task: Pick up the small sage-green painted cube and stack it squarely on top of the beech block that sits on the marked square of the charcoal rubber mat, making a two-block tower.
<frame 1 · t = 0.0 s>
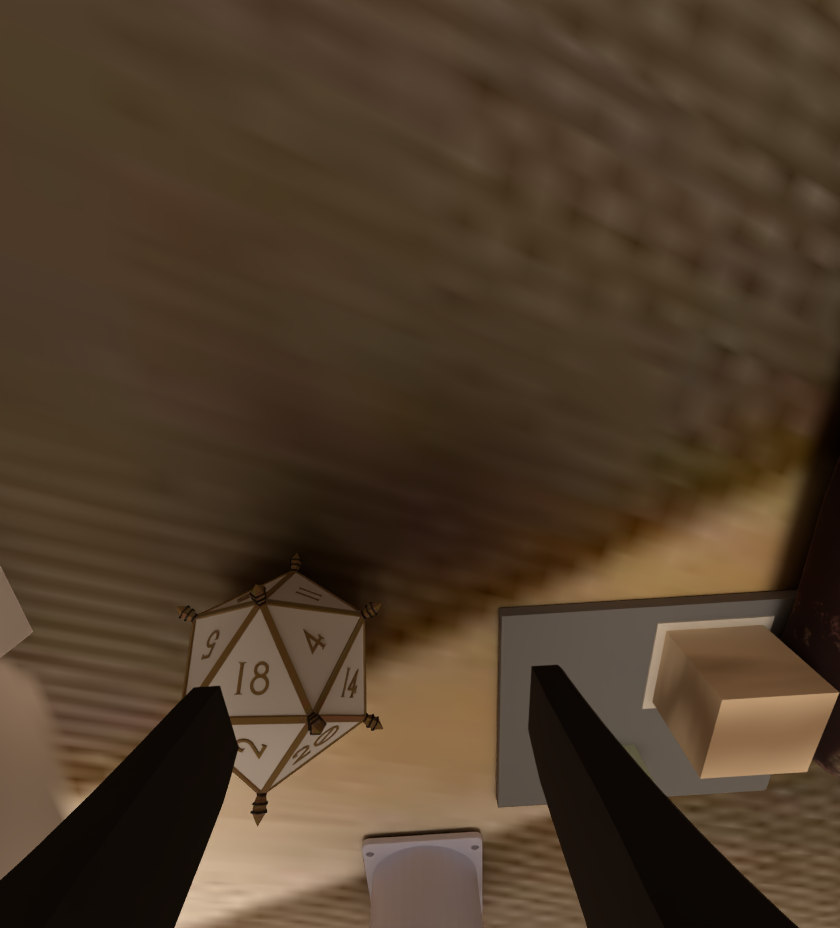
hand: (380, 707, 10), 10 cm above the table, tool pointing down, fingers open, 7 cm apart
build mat: (643, 703, 24), on the table
game die: (304, 601, 21), on the table
beech block: (705, 664, 22), point 1 cm above the table, touching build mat
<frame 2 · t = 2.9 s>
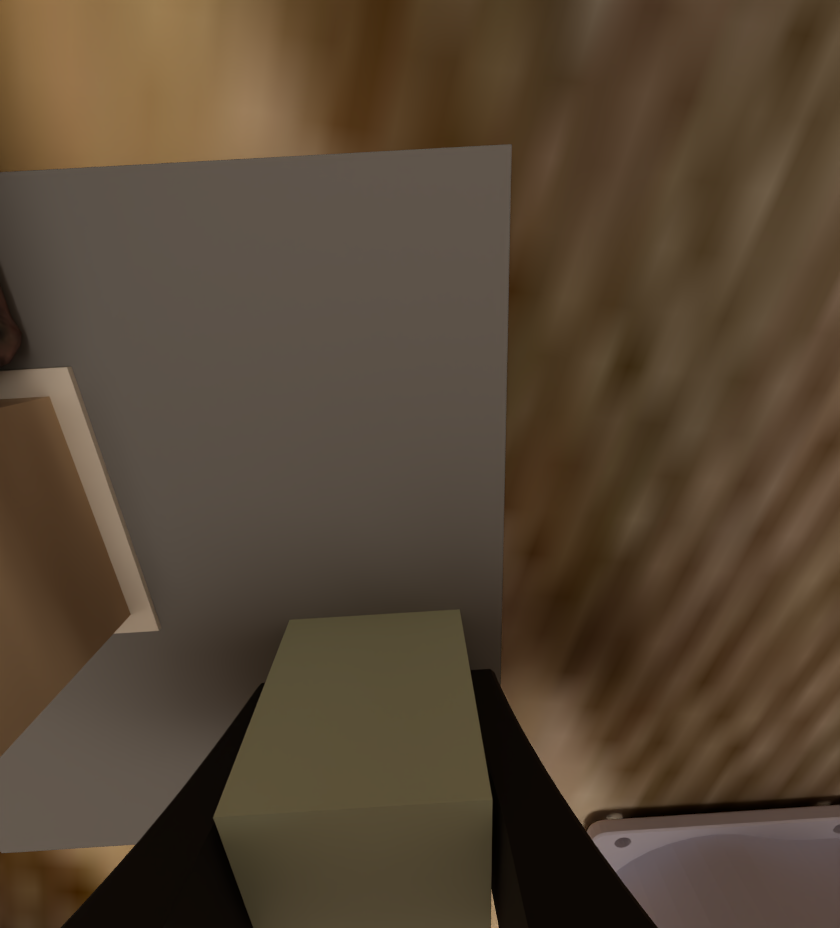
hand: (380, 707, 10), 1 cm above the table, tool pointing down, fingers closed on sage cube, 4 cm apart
sage cube: (382, 678, 10), point 1 cm above the table, touching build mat, gripper
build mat: (190, 592, 10), on the table
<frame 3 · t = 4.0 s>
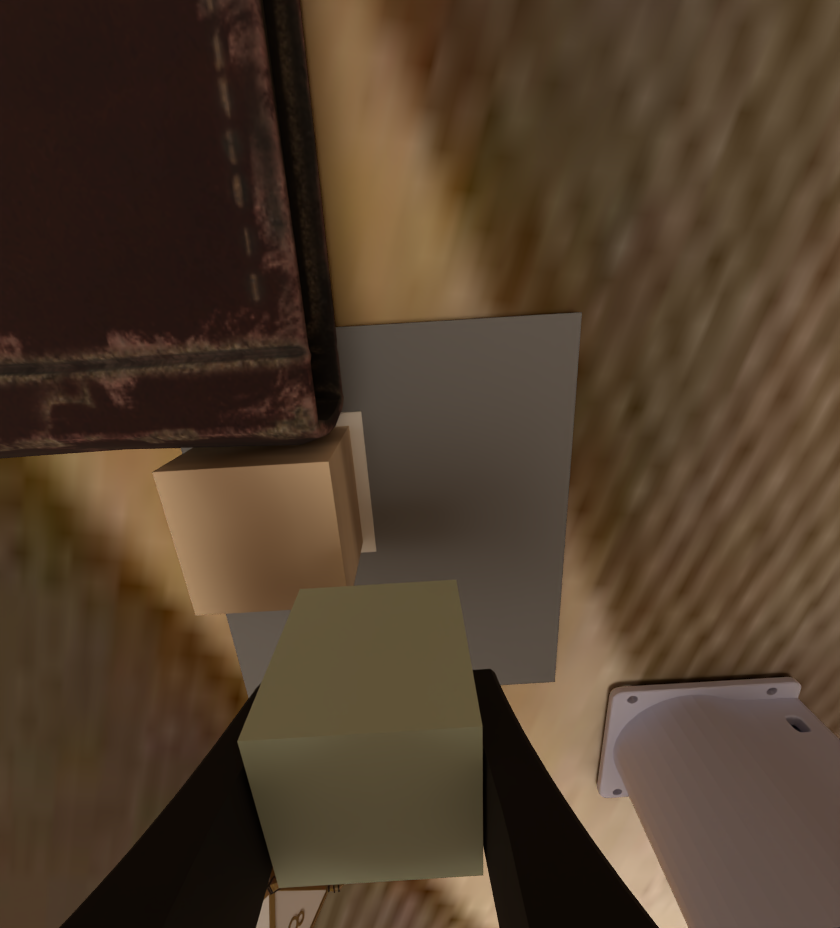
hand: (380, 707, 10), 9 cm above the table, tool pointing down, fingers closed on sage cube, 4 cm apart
sage cube: (384, 646, 11), point 7 cm above the table, touching gripper
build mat: (387, 532, 18), on the table
game die: (271, 812, 24), on the table
beech block: (293, 490, 16), point 1 cm above the table, touching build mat
when the fingers open (7 cm above the table, at t = 5.4 s): sage cube stays where it is, resting on beech block.
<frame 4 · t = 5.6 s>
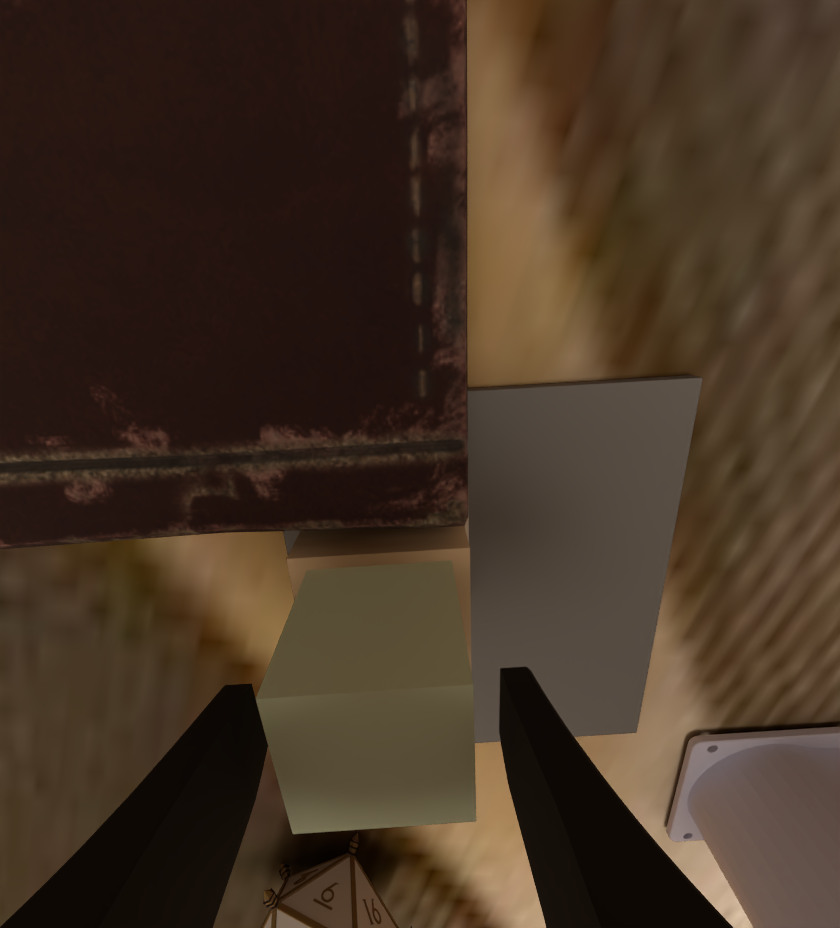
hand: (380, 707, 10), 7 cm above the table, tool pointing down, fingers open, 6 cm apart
sage cube: (385, 623, 12), point 5 cm above the table, touching beech block
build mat: (479, 588, 17), on the table
diary: (20, 210, 12), on the table, touching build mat
game die: (334, 856, 24), on the table
beech block: (391, 551, 16), point 1 cm above the table, touching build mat, sage cube
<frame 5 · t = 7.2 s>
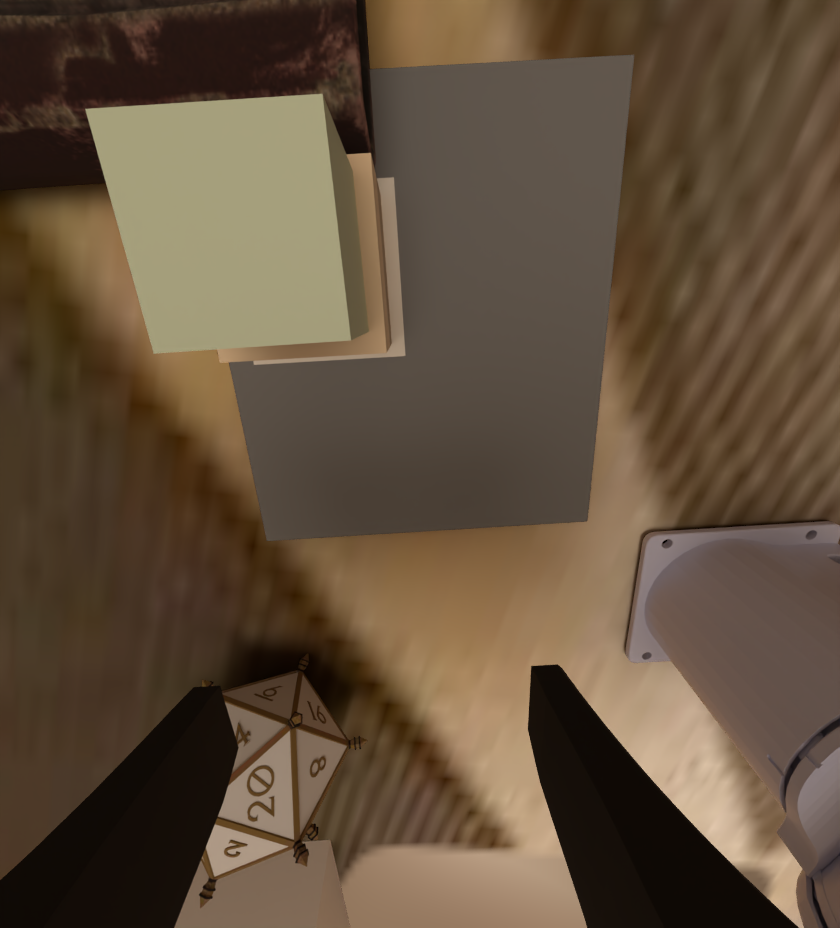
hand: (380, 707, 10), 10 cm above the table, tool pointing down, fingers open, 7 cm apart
sage cube: (289, 260, 11), point 5 cm above the table, touching beech block
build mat: (416, 341, 17), on the table
game die: (286, 686, 23), on the table
milk: (264, 891, 30), on the table
beech block: (319, 277, 15), point 1 cm above the table, touching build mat, sage cube
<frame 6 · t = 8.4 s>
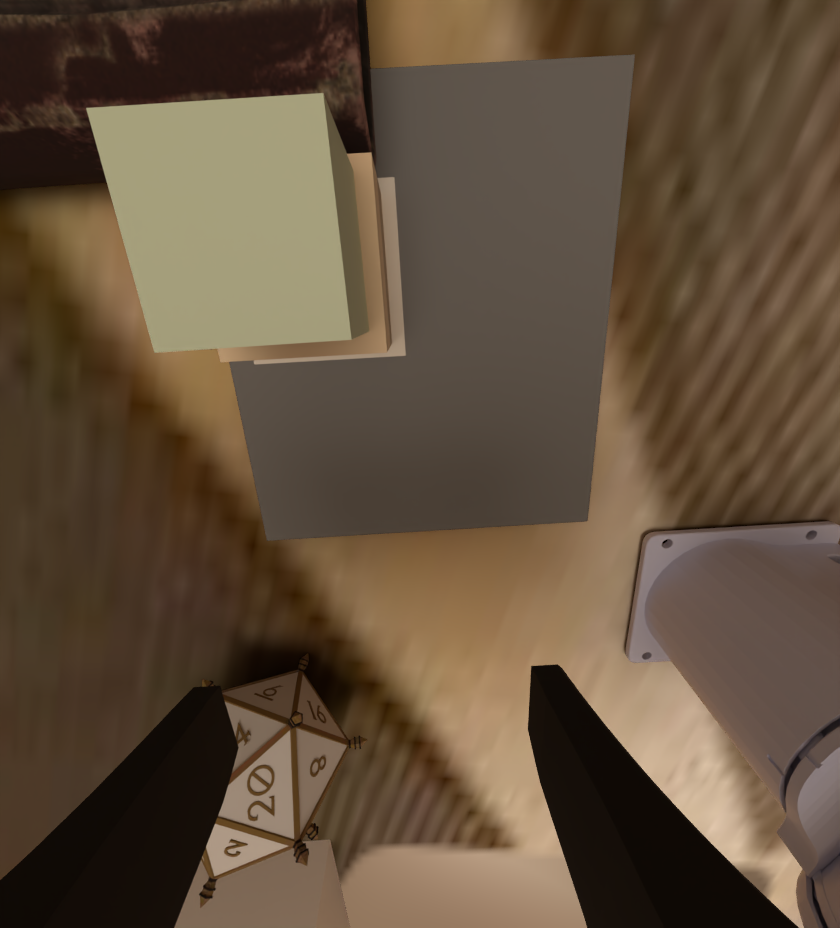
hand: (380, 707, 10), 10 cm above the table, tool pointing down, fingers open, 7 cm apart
sage cube: (289, 260, 11), point 5 cm above the table, touching beech block
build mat: (417, 340, 17), on the table
game die: (286, 686, 23), on the table
milk: (264, 891, 30), on the table
beech block: (319, 276, 15), point 1 cm above the table, touching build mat, sage cube
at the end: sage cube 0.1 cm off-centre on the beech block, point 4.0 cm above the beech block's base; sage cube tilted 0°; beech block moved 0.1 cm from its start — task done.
